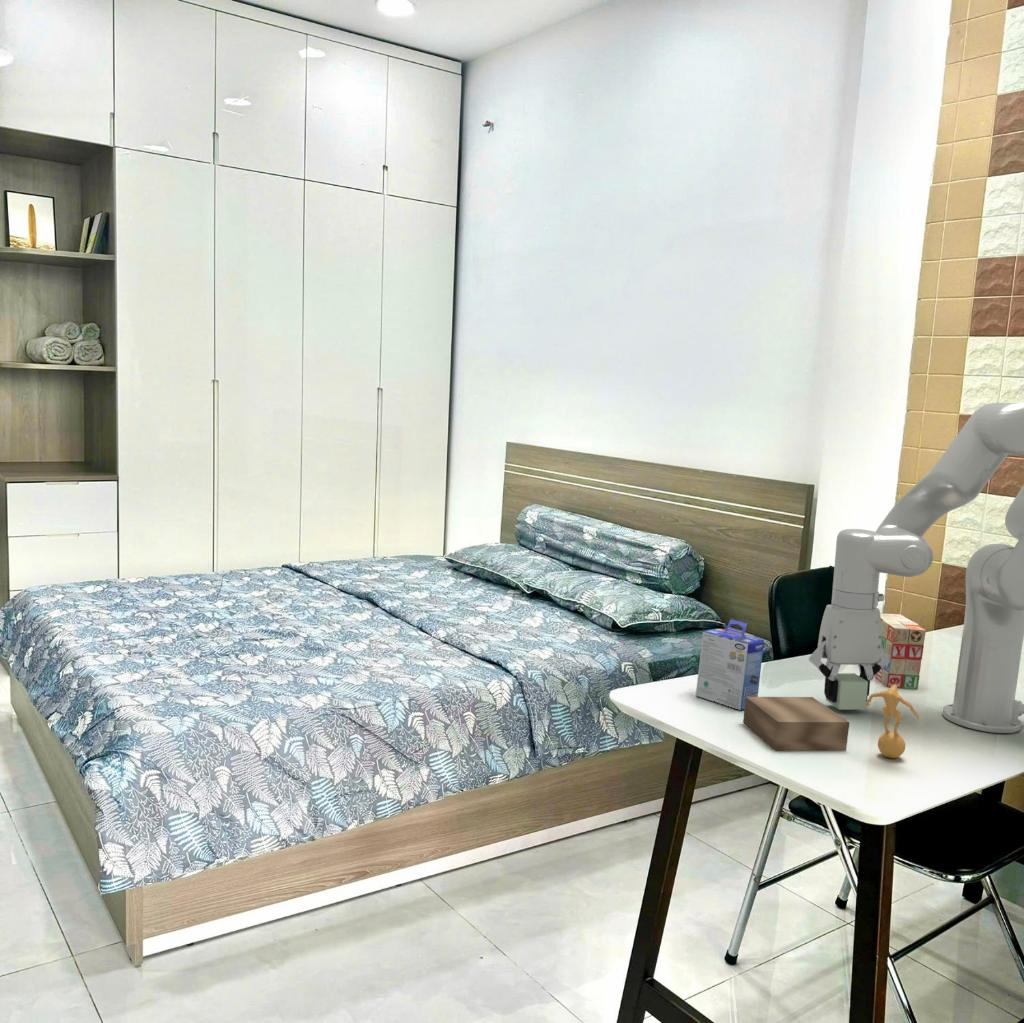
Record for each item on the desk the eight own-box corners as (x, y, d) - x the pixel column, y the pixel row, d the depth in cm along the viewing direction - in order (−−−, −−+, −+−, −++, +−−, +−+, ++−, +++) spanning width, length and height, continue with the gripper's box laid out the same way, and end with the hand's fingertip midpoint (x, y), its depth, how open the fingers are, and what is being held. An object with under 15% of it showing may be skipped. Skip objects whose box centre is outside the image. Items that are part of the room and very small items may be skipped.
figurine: (921, 762, 150) (931, 687, 148) (907, 772, 145) (917, 694, 144) (868, 746, 155) (877, 673, 154) (853, 755, 151) (862, 680, 149)
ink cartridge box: (759, 706, 172) (767, 626, 170) (741, 712, 168) (750, 630, 166) (712, 691, 179) (719, 614, 177) (694, 696, 175) (702, 618, 173)
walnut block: (809, 725, 164) (812, 697, 164) (845, 752, 153) (849, 722, 152) (742, 725, 162) (745, 696, 161) (774, 753, 150) (778, 722, 150)
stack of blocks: (849, 657, 210) (855, 602, 208) (878, 659, 210) (884, 604, 208) (886, 688, 189) (894, 626, 187) (918, 690, 189) (926, 628, 187)
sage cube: (852, 700, 176) (854, 673, 175) (865, 709, 171) (868, 681, 170) (825, 700, 175) (828, 673, 174) (838, 709, 170) (841, 681, 170)
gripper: (888, 595, 175) (880, 693, 178) (799, 595, 173) (791, 693, 175) (911, 605, 168) (901, 706, 170) (817, 604, 166) (809, 707, 168)
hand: (846, 699), depth 173 cm, fingers closed on sage cube, 5 cm apart
